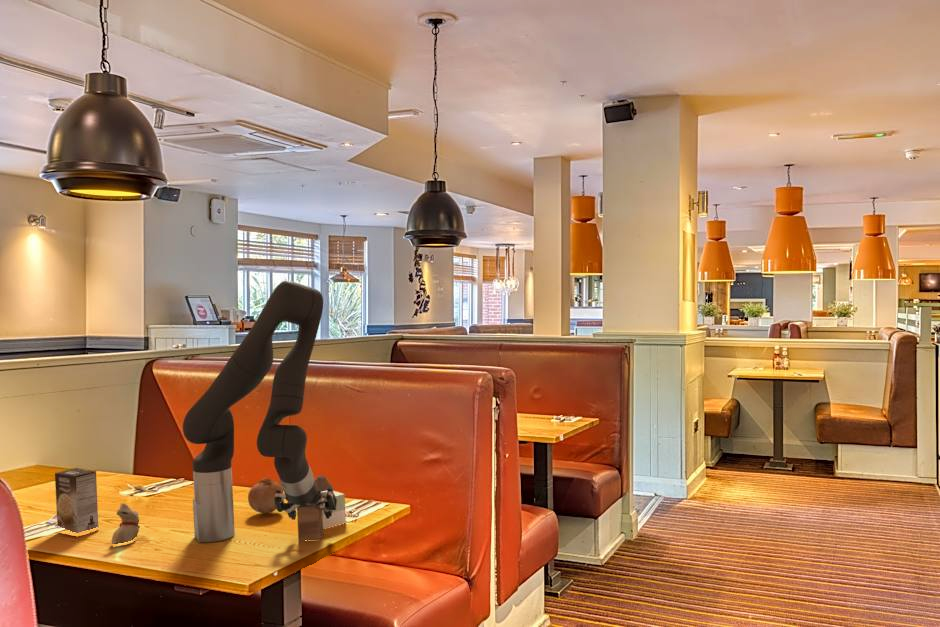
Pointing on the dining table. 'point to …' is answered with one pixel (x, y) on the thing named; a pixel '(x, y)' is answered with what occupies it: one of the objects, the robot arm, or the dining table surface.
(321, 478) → the vase
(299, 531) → the column
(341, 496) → the tower mid
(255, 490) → the onion
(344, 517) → the tower base
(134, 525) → the chocolate bunny
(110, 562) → the dining table surface
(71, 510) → the coffee box
